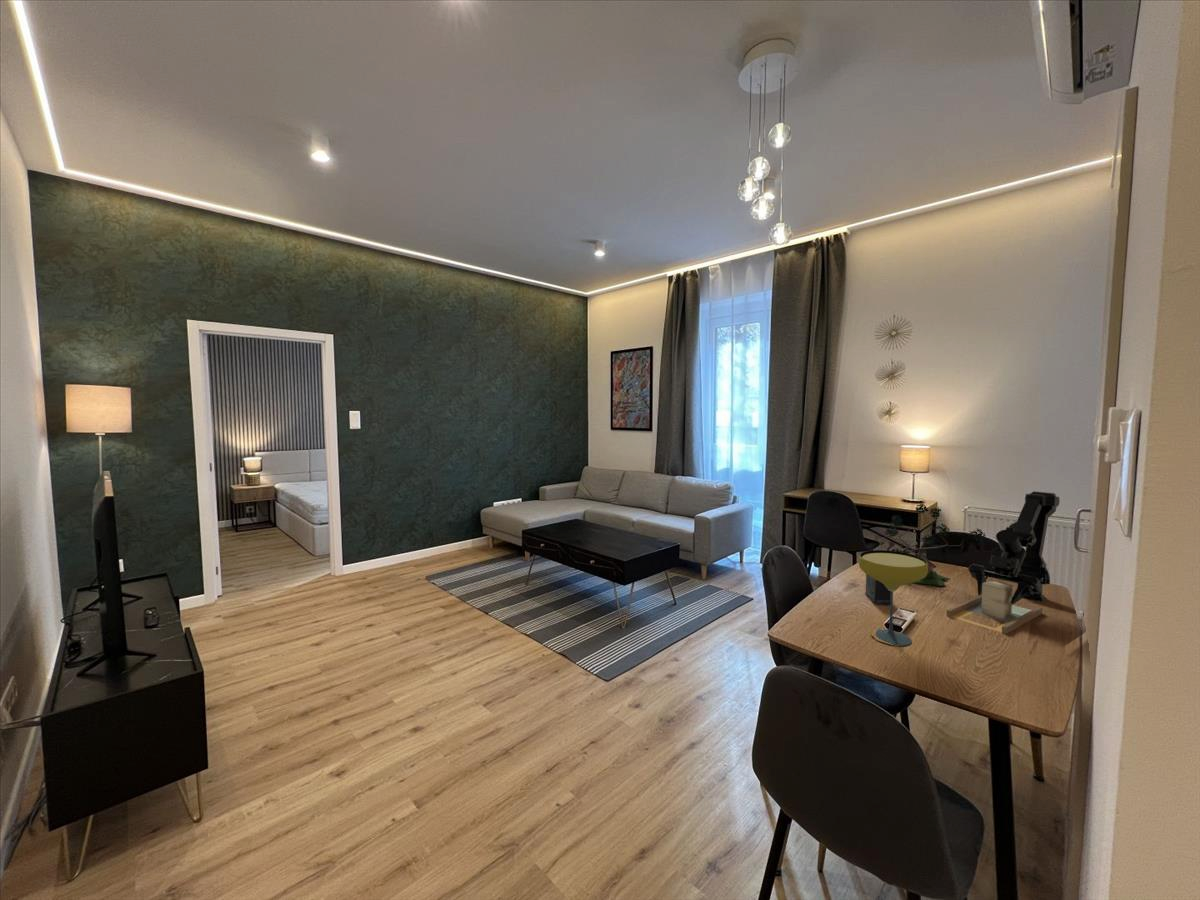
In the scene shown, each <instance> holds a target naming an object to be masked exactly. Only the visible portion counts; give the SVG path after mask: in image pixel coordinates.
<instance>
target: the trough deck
mask: <svg viewBox="0 0 1200 900" xmlns="http://www.w3.org/2000/svg"><path fill="white" fill-rule="evenodd" d="M981 612H982V594H981V595H980V596H979V595H977V596H975V597H972V598H970V599H968V600H966V601H964V602H961V603H960V604H959V603H958V604H957V605H955V606H952V607H950V608H948V609H946V617H949V618H952V619H955V620H958V621H961V622H965V623H968V624H971V625H975V626H979V627H980V628H981V627H982V628H984V629H987V630H991V631H994V632H997V633H1001V634H1004V635H1007V634H1008V633H1009V634H1010V632H1012V631H1014V630H1016V629H1018V628H1020V627H1021V626H1023V625H1025V624H1026V623H1028V622H1030V621H1031V620H1033V619H1035V618H1037V617H1038V616H1040V615H1043V607H1041V606H1037V607H1035V608H1033V609H1028V608H1026V607H1025V608H1024V607H1022V606H1017V605H1015V604H1012V614H1011V615H1010V616H1008V617H1006V618H1004V619H1002V618H998V617H995V616H991V615H988V614H984V613H981ZM972 614H977V615H980V616H983V617H987V618H991V619H994V620H997V621H1001V622H1004V623H1002V624H999V626H997V627H993V626H989V625H985V624H983V623H982V624H981V623H980V622H976V621H972V620H969V619H966V617H967V616H969V615H972Z"/></svg>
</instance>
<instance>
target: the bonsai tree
mask: <svg viewBox="0 0 1200 900" xmlns="http://www.w3.org/2000/svg"><path fill="white" fill-rule="evenodd" d="M929 511H930V512H929ZM941 511H942V509H940V508H939V507H933V508H930V509H929V508H928V507H927V506H926V505H925V504H924V503H919V504H917V505H916V507H915V511H914V512H915V513H916V514H917V513H918V514H922V515H923V517H924V518H925V519H926V521H927V522H928V524H929V525H930V527H931V528H932V529H933V530H934V531H935V533H937V534H938V535H939V537H940V538H942V539H943V541H944V542H945V544H944V545H937V544H935V543H934V542H936V539H935V537H933V536H931V535H930V534H926V535H924V536H923V537H921V539H920V538H918V535H917V534H915V537H917V538H916V539H918V540H919V541H920V542H922V543H925V544H924V545H923V546H922V547H921V548H920V547H919V546H918V545H919V543H918V541H915V544H913V545H909V543H907V542H906V541H904V540H902V539H901V537H902V536H903V535H905V534H906V533H908V532H909V531H910V530H911V528H910V527H909V526H908V525H906V527H908V530H907V531H905V532H903V533H902V534H900V535H899V537H898V539H899V541H901V542H902V543H903V544H905V545H906V547H905V548H904V549H902V550H901V549H899V548H892V547H893V546H894V543H893V542H892V541H891V540H889V539H887V538H891V537H896V536H898V534H899V533H900V532H899V531H898V528H902V527H903V526H904V524H903V520H904V519H903V518H902V517H901V515H900V514H898V515H893V516H892V517H891V521H890V524H889V527H888V528H885V532H884V534H885V535H887V536H883V537H881V539H882V540H883V541H885V542H887V543H890V545H889V546H888V547H887V548H886V550H887V551H897V552H903V553H908V554H912V555H916V556H918V555H920V557H921V558H923V559H925V560H926V561H927V563H928V573H927V575H926V577H925V578H923V579H921V580H920V581H917V582H914V583H913V584H917V585H918V584H919V585H928V586H929V585H930V586H935V587H939V588H943V586H944V585H945V582H944V580H945V581H949V580H950V578H949V577H947V576H946V577H945V576H943V575H941V574H939V573H938V572H937V570H934V569H935V568H937V567H938V566H937V565H936V564H935V563H933V562H932V561H931V560H929V559H928V558H927V551H929V550H936V549H942V548H946V547H947V546H948V547H952V545H949V543H948V541H947V540H946V539H945V538H944V536H947V535H948V533H949V532H950V530H951V529H950V528H949V527H947V525H946V524H945V523H940V525H936V526H935V524H936V522H938V518H939V517H940V516H941V514H940V512H941ZM925 512H928V514H929V515H930V516H931V517H932V518H933V519H936V521H935V522H934V523H933V526H932V525H931V523H930V522H929V520H928V519H927V518H926V515H925V514H924V513H925ZM946 518H947V517H946ZM947 519H948V518H947ZM940 521H941V522H943V520H940ZM891 524H892V525H891ZM909 525H911V526H912V524H910V523H909ZM913 528H914V531H915V533H917V531H916V529H915V527H913ZM937 530H938V531H939V532H938V531H937ZM968 533H969V535H973V538H974V540H976V541H977V542H979V541H980V542H983V539H984V538H985V537H987V536H986V533H985V532H983V530H982V529H980V528H978V527H977V528H976V529H975V530H974V531H973V530H972V531H971V530H970V531H968ZM963 542H964V540H962V542H961V543H960V545H957V544H955V545H954V547H960V546H961V545H962V544H963ZM926 544H928V545H930V547H925V545H926ZM914 547H915V548H914ZM910 548H914V549H910ZM890 549H891V550H890ZM916 552H921V553H916Z"/></svg>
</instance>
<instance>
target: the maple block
mask: <svg viewBox="0 0 1200 900" xmlns="http://www.w3.org/2000/svg"><path fill="white" fill-rule="evenodd" d="M986 581H987V580H986ZM1013 587H1014V585H1013V584H1010V583H1006V582H1001V581H997V580H993V579H989V580H988V581H987V582H984V583H982V612H981V613H984V614H988V615H991V616H995V617H998V618H1002V619H1004V618H1006V617H1008V616H1010V615H1011V614H1012V605H1013V604H1011V600H1012V597H1013Z"/></svg>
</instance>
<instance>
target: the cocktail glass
mask: <svg viewBox="0 0 1200 900" xmlns="http://www.w3.org/2000/svg"><path fill="white" fill-rule="evenodd" d="M921 557H922V556H918V555H916V554H913V553H903V552H897V551H896V550H895V551H891V550H889V551H887V549H886V550H883V549H882V550H881V549H877V550H876V549H874V550H873V549H872V550H866V551H865V550H864V551H862V552H860V554H859V556H858V565H859V568H860V570H861V571H862V572H863V573H865V575H866V574H867V575H869V576H870V577H872V578H874V579H876V580H878V581H880V582H881V583H883V584H884V585H885V586H886V588H887V589H888V590H889V591H891V595H890V605H889V626H888V629H885V630H879V629H877V630H878V631H876V636H877V637H878V638H879V639H881V640H883V641H885V642H888V643H891V644H893V645H899V646H898V647H906V646H905V645H907V646H910V645H911V644H912V641H913V640H912V638H910V637H909V635H906V634H904V633H902V632H900V633H899V631H897V632H895V631H896V630H894V625H893V622H894V621H893V619H894V618H893V617H894V616H893V610H894V608H893V605H894V592H896V591H897V590H898V589H899V588H900V587H902V586H905V585H910V584H915V583H914V582H917V581H920V580H921V579H923V578H925V577H926V575H927V573H928V563H927V561H926V560H925V559H923V558H921ZM909 644H910V645H909Z"/></svg>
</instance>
